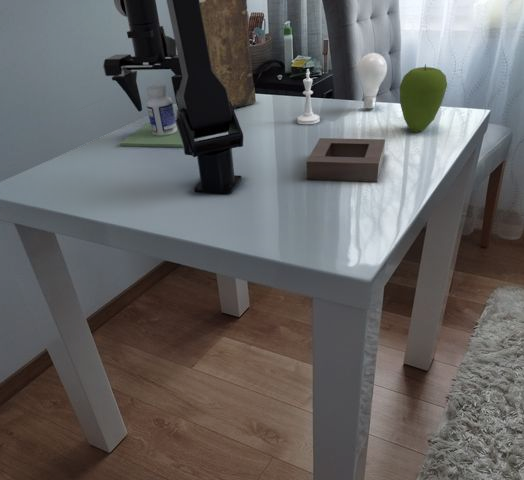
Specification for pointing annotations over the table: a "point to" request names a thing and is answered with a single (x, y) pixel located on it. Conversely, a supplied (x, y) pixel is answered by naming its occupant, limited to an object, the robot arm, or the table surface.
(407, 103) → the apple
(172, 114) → the pill bottle
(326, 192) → the table surface
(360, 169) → the holder
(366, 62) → the lightbulb
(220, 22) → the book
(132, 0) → the robot arm
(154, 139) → the mat
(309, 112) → the chess piece
